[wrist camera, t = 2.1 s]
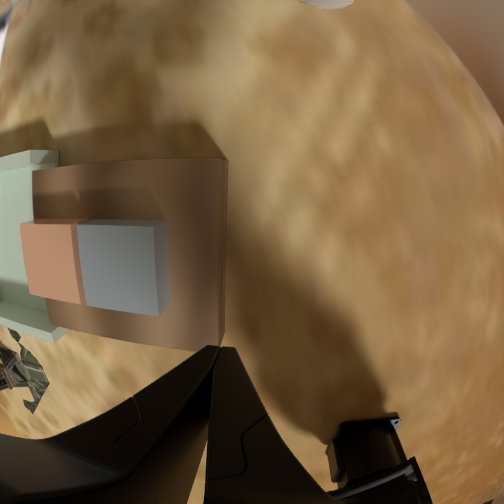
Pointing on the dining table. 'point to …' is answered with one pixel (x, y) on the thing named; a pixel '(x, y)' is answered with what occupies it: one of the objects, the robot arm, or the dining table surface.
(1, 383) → the eiffel tower figurine
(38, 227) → the tile terracotta
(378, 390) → the dining table surface
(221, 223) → the plate
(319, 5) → the dixie cup
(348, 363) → the dining table surface
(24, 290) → the tray
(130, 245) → the tile slate
